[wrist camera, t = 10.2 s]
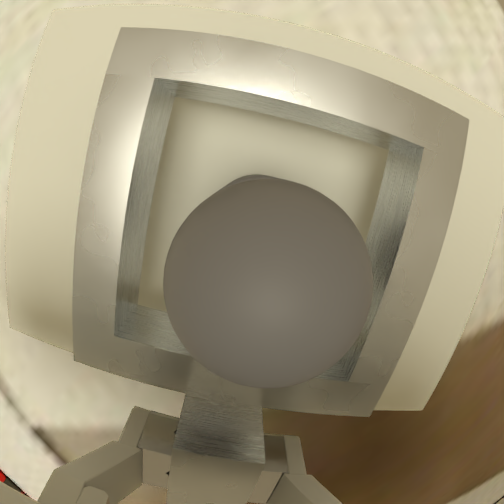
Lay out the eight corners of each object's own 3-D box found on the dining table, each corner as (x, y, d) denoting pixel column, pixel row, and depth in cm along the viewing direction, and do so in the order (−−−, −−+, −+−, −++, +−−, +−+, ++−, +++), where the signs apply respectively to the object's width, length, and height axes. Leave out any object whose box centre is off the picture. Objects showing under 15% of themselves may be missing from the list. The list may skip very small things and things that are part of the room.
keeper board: (496, 126, 11) (651, 125, 2) (411, 393, 14) (489, 521, 6) (69, 21, 10) (-63, -63, 1) (26, 314, 13) (-92, 416, 4)
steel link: (313, 454, 11) (330, 534, 7) (102, 413, 10) (64, 489, 6) (430, 126, 8) (523, 112, 4) (145, 53, 7) (83, -11, 4)
